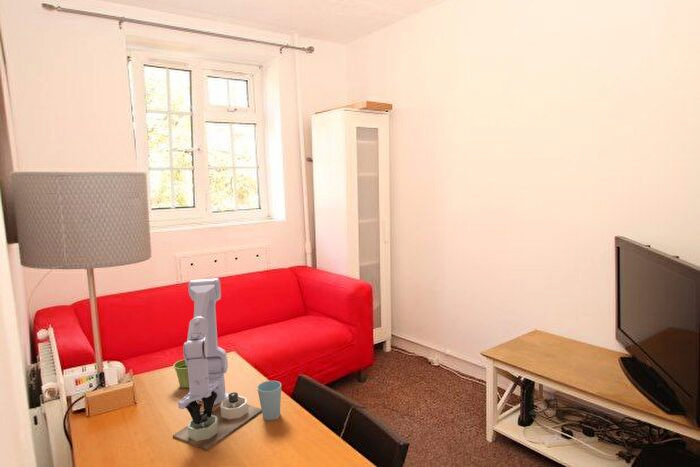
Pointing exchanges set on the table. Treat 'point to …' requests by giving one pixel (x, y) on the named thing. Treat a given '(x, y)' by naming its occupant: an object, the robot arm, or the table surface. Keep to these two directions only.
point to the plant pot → (182, 373)
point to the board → (219, 428)
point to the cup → (270, 399)
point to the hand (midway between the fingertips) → (202, 419)
